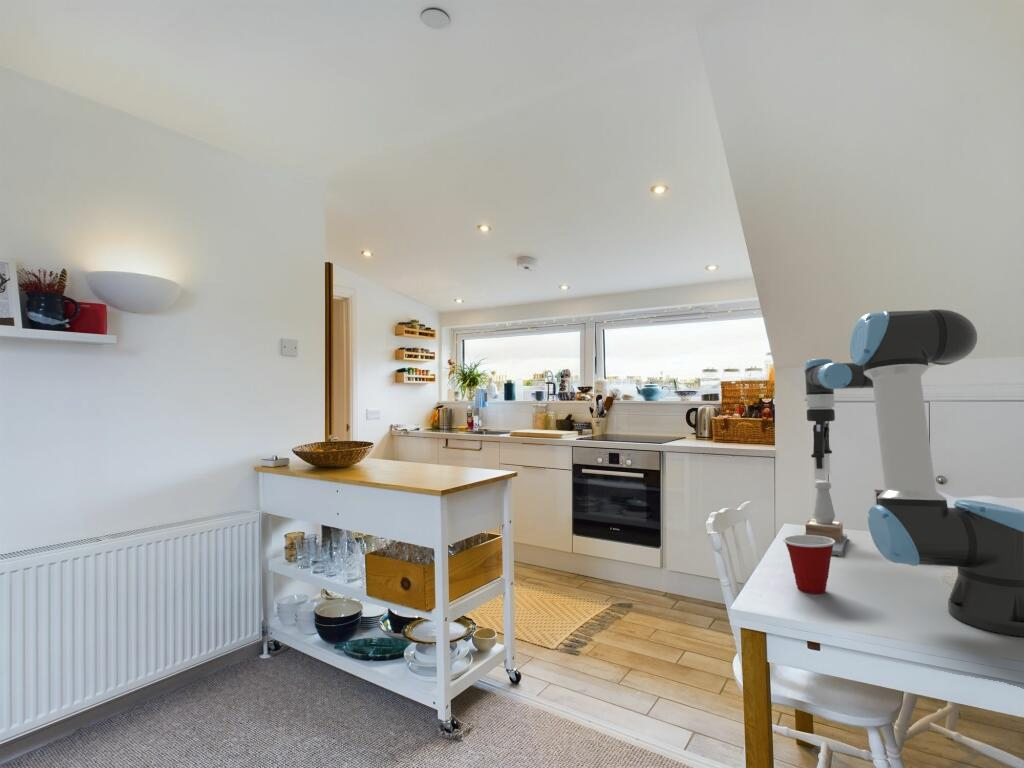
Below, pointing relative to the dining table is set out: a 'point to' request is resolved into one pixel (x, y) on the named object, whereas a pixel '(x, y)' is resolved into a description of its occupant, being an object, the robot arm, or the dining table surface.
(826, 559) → the plastic cup
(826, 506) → the salt shaker
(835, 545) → the build plate
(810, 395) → the robot arm
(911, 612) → the dining table surface
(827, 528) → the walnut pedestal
